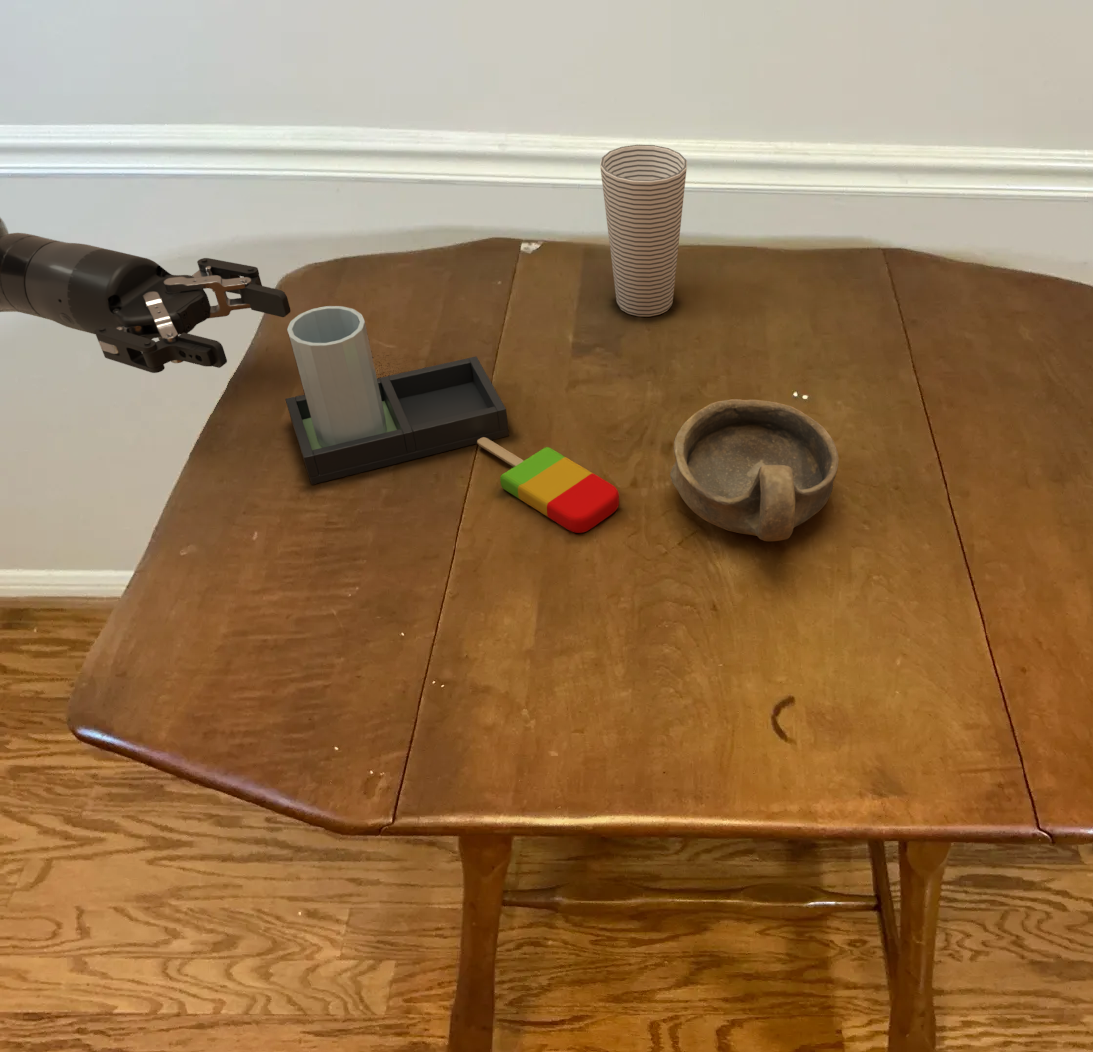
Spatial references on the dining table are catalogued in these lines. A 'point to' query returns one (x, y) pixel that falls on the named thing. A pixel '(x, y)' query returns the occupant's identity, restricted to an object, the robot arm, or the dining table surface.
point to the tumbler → (337, 374)
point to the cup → (644, 224)
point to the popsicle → (557, 487)
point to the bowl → (754, 466)
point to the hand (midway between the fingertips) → (255, 329)
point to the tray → (410, 420)
